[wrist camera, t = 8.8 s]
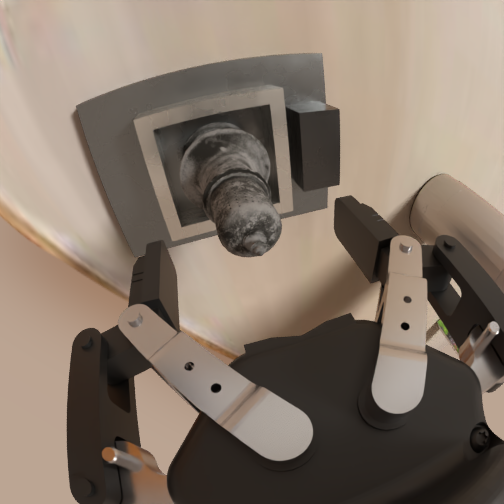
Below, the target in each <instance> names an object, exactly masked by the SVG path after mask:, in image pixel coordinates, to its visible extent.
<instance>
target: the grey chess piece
mask: <svg viewBox="0 0 504 504" xmlns="http://www.w3.org/2000/svg"><path fill="white" fill-rule="evenodd" d="M269 176H270V160H269V157H268V153H267V151H266V149H265V148H264V146H263V145H262V143H261V142H260V141H259V140H257V139H256V138H255V137H254V136H253V135H251V134H249V133H247V132H245V131H243V130H241V129H240V128H239V127H237V126H235V125H233V124H231V123H225V122H214V123H209V124H207V125H204V126H202V127H200V128H199V129H197V130H196V131H194V132H193V134H192V135H191V136H190V137H189V138H188V140H187V142H186V144H185V146H184V150H183V158H182V160H181V163H180V170H179V177H180V185H181V187H182V189H183V191H184V194H185V195H186V196H187V198H188V199H189V200H190V201H191V202H192V203H193V204H195V205H196V206H198V207H199V208H201V209H203V210H204V211H205V213H206V215H207V217H208V218H209V219H210V220H211V221H212V222H213V223H215V226H216V230H217V234H218V237H219V239H220V241H221V243H222V245H223V246H224V247H225V248H226V249H227V250H228V251H229V252H231V253H232V254H234V255H237V256H241V257H255V256H262V255H263V254H264V253H266V252H267V251H269V250H270V249H271V248H272V247H273V246H274V245H275V244H276V242H277V241H278V239H279V237H280V234H281V230H282V224H281V219H280V216H279V214H278V212H277V210H276V209H275V207H274V206H273V204H272V202H271V190H270V187H269V184H268V183H267V182H268V179H269Z"/></svg>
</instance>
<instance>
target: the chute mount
mask: <svg viewBox="0 0 504 504" xmlns="http://www.w3.org/2000/svg"><path fill="white" fill-rule="evenodd" d="M76 108H77V111H78V115H79V118H80V121H81V124H82V128H83V131H84V134H85V137H86V140H87V143H88V146H89V149H90V152H91V154H92V157H93V160H94V163H95V166H96V168H97V171H98V174H99V176H100V179H101V181H102V184H103V186H104V189H105V191H106V194H107V196H108V199H109V201H110V204H111V206H112V208H113V211H114V213H115V215H116V218H117V220H118V222H119V225H120V227H121V229H122V231H123V233H124V236H125V238H126V240H127V242H128V244H129V246H130V248H131V251H132V253H133V255H134V257H138V256H142V255H145V253H146V245H147V244H148V243H152V242H155V241H159V240H163V241H164V242H165V245H166V247H167V248H171V247H174V246H178V245H182V244H185V243H189V242H193V241H197V240H201V239H204V238H208V237H212V236H216V235H218V234H217V230H216V226H215V223H213V222H212V221H211V220H210V219H209V218H208V217H207V215H206V213H205V211H204V210H203V209H201V208H199V207H198V206H196V205H195V204H193V203H192V202H191V201H190V200H189V199H188V198H187V196H186V195H185V194H184V191H183V189H182V187H181V185H180V177H179V170H180V163H181V160H182V158H183V150H184V146H185V144H186V142H187V140H188V138H189V137H190V136H191V135H192V134H193V132H194V131H196V130H197V129H199V128H200V127H202V126H204V125H207V124H209V123H214V122H225V123H231V124H233V125H235V126H237V127H239V128H240V129H241V130H243V131H245V132H247V133H249V134H251V135H253V136H254V137H255V138H256V139H257V140H259V141H260V142H261V143H262V145H263V146H264V148H265V149H266V151H267V153H268V157H269V160H270V176H269V179H268V182H267V183H268V184H269V187H270V190H271V202H272V204H273V206H274V207H275V209H276V210H277V212H278V214H279V216H280V219H283V218H287V217H291V216H296V215H300V214H304V213H308V212H312V211H316V210H321V209H325V208H327V196H328V187H331V186H336V185H339V183H340V113H339V109H338V108H335V107H333V106H330V105H327V104H326V99H325V83H324V70H323V58H322V53H302V54H283V55H270V56H260V57H251V58H243V59H236V60H229V61H223V62H217V63H212V64H206V65H201V66H197V67H192V68H187V69H183V70H179V71H175V72H171V73H167V74H163V75H160V76H156V77H153V78H149V79H146V80H143V81H139V82H136V83H133V84H130V85H127V86H124V87H121V88H119V89H116V90H113V91H110V92H108V93H105V94H102V95H100V96H97V97H95V98H92V99H90V100H88V101H85V102H83V103H81V104H79V105H77V106H76Z"/></svg>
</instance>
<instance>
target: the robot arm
mask: <svg viewBox="0 0 504 504" xmlns="http://www.w3.org/2000/svg"><path fill="white" fill-rule="evenodd" d="M410 223H411V227H412V229H413V231H414V232H415V233H416V234H417V235H418V236H419V237H420V238H421V239H422V240H423V241H424V242H425V243H426V244H427V245H420V243H419V242H418V241H417V240H416V239H414V238H412V237H410V236H405V235H399V234H398V233H397V232H396V231H395V230H394V229H393V228H392V227H391V226H390V225H389V224H388V223H387V222H386V221H385V220H383V218H382V217H381V216H380V215H378V213H377V212H376V211H375V210H374V209H372V208H371V207H369V206H367V205H365V204H363V203H362V204H360V203H359V202H358V201H357V200H356V199H355V198H354V197H353V196H351V195H350V196H345V197H340V198H336V200H335V210H334V230H335V234H336V236H337V238H338V239H339V241H340V242H341V243H342V245H343V246H344V247H345V249H346V250H347V251H348V253H349V254H350V255H351V257H352V258H353V260H354V261H355V262H356V264H357V265H358V266H359V268H360V269H361V271H362V272H363V273H364V275H365V276H366V278H367V279H368V280H369V282H370V283H374V282H376V281H380V282H381V287H380V293H379V299H378V305H377V311H376V317H375V321H369V320H354V318H353V316H352V314H351V313H349V314H346V315H343V316H341V317H338V318H335V319H332V320H329V321H326V322H324V323H323V324H321V325H319V326H318V327H316V328H314V329H313V330H311V331H309V332H308V333H306V334H304V335H301V336H291V337H276V338H269V339H265V340H261V341H258V342H254V343H250V344H246V345H244V347H245V351H246V353H245V354H243V355H241V356H239V357H238V358H236V359H235V360H234V361H233V362H231V364H229V365H228V366H227V365H226V364H225V363H223V362H222V361H221V360H220V359H218V358H217V357H215V356H214V355H213V354H211V353H210V352H209V351H208V350H206V349H205V348H204V347H202V346H201V345H200V344H198V343H197V342H196V341H195V340H193V339H192V338H191V337H190V336H188V335H187V334H186V333H184V332H183V331H180V326H179V310H178V291H177V275H176V270H175V267H174V264H173V262H172V260H171V257H170V255H169V252H168V250H167V247H166V245H165V242H164V241H163V240H159V241H155V242H152V243H148V244H147V245H146V253H145V256H143V257H139V258H138V260H137V261H136V263H135V265H134V266H133V273H132V275H133V276H132V280H131V282H132V283H131V288H130V296H129V305H128V308H127V309H125V310H124V311H123V313H122V314H121V315H120V317H119V320H118V325H116V326H115V327H113V328H111V329H109V330H107V331H105V332H103V333H100V332H99V331H98V330H97V329H95V328H88V329H85V330H83V331H81V332H80V333H79V334H78V335H77V336H76V338H75V340H74V342H73V346H72V353H71V362H70V372H69V384H68V401H67V455H68V471H69V482H70V489H71V493H72V495H73V497H74V498H75V500H77V502H78V503H79V504H504V441H503V440H502V439H500V438H499V437H498V436H497V435H495V434H494V433H493V432H492V431H491V430H490V428H489V427H488V425H487V423H486V420H485V416H484V411H483V404H482V394H483V393H485V392H488V393H489V392H493V391H495V390H496V389H497V388H498V387H500V386H501V385H502V384H503V383H504V215H503V214H502V213H500V212H499V211H498V210H497V209H496V208H494V207H493V206H492V205H491V204H489V203H488V202H487V201H486V200H484V199H483V198H482V197H480V196H479V195H478V194H476V193H475V192H474V191H472V190H471V189H470V188H468V187H467V186H466V185H464V184H463V183H461V182H460V181H457V180H456V179H454V178H453V177H451V176H450V175H447V174H441V175H438V176H436V177H434V178H432V179H431V180H430V181H429V182H428V183H427V184H426V185H425V186H424V187H423V188H422V190H421V191H420V192H419V194H418V196H417V197H416V199H415V202H414V204H413V207H412V211H411V216H410ZM451 278H453V279H454V280H455V282H456V283H457V284H458V286H459V287H460V289H461V293H462V296H461V298H460V296H459V295H458V293H457V292H456V291H455V289H454V288H453V287H452V285H451V284H450V281H451ZM427 300H428V301H429V303H430V304H431V306H432V307H433V309H434V310H435V312H436V313H437V315H438V316H439V318H440V319H441V321H442V322H443V324H444V326H445V327H446V329H447V330H448V332H449V334H450V335H451V337H452V339H453V340H454V342H455V344H456V345H457V347H458V349H459V359H460V360H458V359H456V358H453V357H451V356H449V355H447V354H445V353H443V352H440V351H438V350H436V349H434V348H432V347H430V346H428V345H425V344H426V328H427ZM149 368H152V369H153V370H154V371H155V372H156V373H157V374H158V375H159V376H160V377H161V378H162V379H163V380H164V381H165V382H166V383H167V384H168V385H169V386H170V387H171V388H172V389H173V390H174V391H175V392H176V393H177V394H178V395H180V396H181V398H183V399H184V400H185V401H186V402H187V403H188V404H189V405H190V406H191V407H192V408H193V409H194V410H195V411H197V412H198V413H199V415H198V417H197V419H196V420H195V422H194V424H193V426H192V428H191V429H190V431H189V433H188V435H187V436H186V438H185V440H184V442H183V443H182V445H181V447H180V449H179V450H178V452H177V454H176V455H175V457H174V459H173V461H172V462H171V464H170V466H169V469H168V473H167V475H165V474H164V473H162V472H161V470H160V469H159V467H158V465H157V462H156V460H155V458H154V456H153V455H152V454H151V453H150V452H149V451H147V450H145V449H143V448H141V444H140V437H139V430H138V421H137V410H136V399H135V387H134V376H135V375H137V374H139V373H141V372H143V371H145V370H147V369H149Z"/></svg>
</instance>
